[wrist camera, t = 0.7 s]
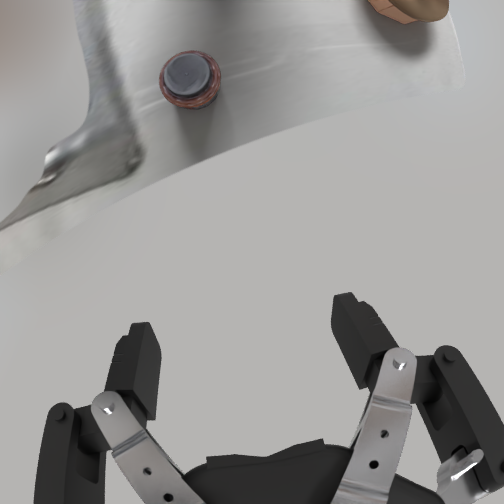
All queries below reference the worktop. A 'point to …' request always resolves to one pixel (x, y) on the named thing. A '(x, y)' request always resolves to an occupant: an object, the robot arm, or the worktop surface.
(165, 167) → the worktop surface
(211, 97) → the supplement bottle
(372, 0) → the bowl
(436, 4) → the lid
